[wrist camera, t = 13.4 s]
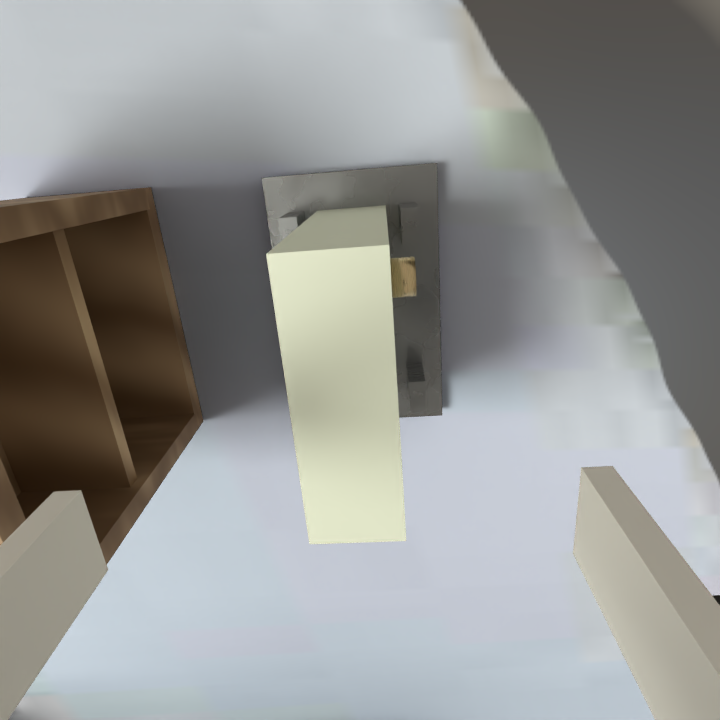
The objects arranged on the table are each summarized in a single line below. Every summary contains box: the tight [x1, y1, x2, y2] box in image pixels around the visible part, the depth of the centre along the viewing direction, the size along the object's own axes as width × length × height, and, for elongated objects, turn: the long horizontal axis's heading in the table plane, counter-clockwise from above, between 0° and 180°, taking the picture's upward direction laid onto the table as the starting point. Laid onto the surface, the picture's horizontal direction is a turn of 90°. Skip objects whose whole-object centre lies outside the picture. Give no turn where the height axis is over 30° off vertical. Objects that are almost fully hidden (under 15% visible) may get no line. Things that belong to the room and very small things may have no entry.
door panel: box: [266, 205, 417, 544], centre depth 25 cm, size 12×5×14 cm, turn 5°
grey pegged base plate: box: [262, 163, 442, 417], centre depth 30 cm, size 16×10×4 cm, turn 5°
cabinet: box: [0, 187, 203, 565], centre depth 25 cm, size 16×8×18 cm, turn 5°
